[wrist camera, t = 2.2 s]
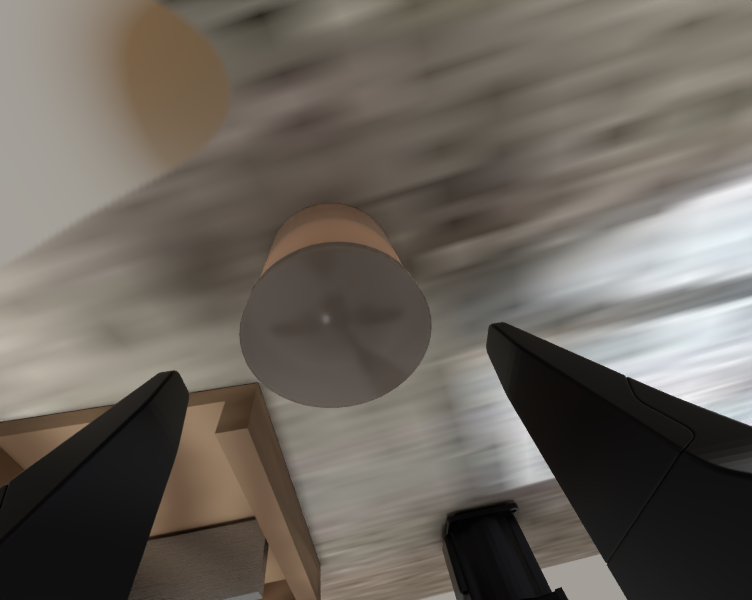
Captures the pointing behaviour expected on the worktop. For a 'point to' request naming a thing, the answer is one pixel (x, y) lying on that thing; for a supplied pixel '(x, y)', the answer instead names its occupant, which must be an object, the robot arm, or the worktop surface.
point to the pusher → (204, 565)
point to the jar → (334, 312)
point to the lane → (206, 479)
